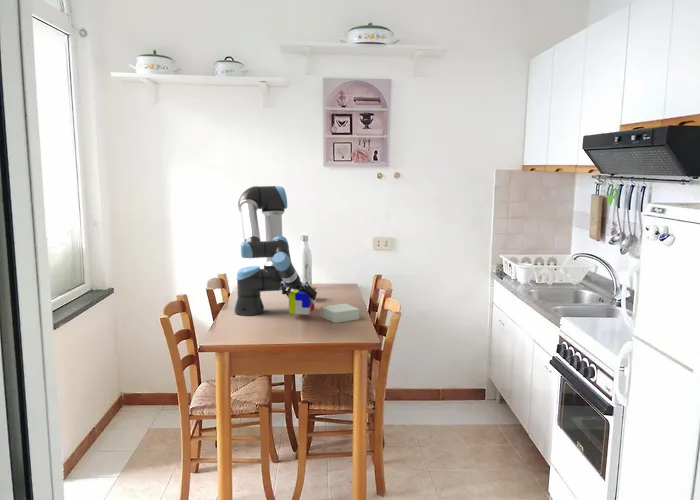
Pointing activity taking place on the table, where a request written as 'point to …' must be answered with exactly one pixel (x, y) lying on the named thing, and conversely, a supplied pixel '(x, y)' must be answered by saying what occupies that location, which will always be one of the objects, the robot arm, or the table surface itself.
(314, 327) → the table surface
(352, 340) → the table surface
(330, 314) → the pedestal
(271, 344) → the table surface
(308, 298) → the puzzle toy
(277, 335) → the table surface
